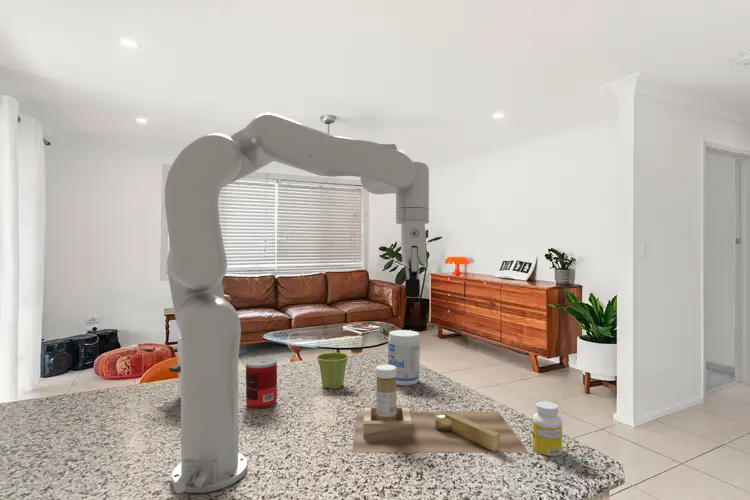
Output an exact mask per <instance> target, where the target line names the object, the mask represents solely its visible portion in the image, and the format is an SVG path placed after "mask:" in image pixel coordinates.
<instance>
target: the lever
mask: <svg viewBox="0 0 750 500" xmlns="http://www.w3.org/2000/svg"><path fill="white" fill-rule="evenodd" d="M436 412H437V413H435V427H436V428H437V429H439V430H442V431H452V432H454V433H456V434H458V435H460V436H462V437H464V438H467V439H469V440H471V441H473V442H475V443H477V444H479V445H481V446H483V447H485V448H487V449H489V450H491V451H494V452H493V453H496V452H495V451H497V450H499V449H500V433H497V432H495V431H493V430H490V429H488V428H486V427H483V426H481V425H479V424H476V423H474V422H472V421H470V420H467V419H465V418H463V417H460V416H458V415H457V414H456V413H454V412H455V411H449V410H441V411H436Z"/></svg>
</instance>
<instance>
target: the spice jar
mask: <svg viewBox="0 0 750 500" xmlns="http://www.w3.org/2000/svg"><path fill="white" fill-rule="evenodd" d="M375 376H376V389H375V390H376V391H375V393H376V395H375V397H376V399H375V401H376V402H375V403H376V404H375V405H376V413H377V421H396V405H397V385H396V376H397V368H396V367H395V366H393V365H388V364H380V365H377V366H376V367H375Z"/></svg>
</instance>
